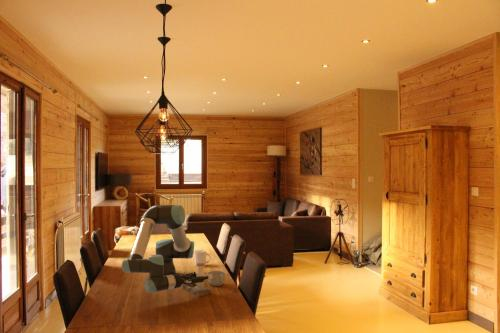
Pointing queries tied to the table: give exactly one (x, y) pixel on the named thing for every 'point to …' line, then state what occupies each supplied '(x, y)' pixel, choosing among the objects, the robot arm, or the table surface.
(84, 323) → the table surface
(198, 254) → the mug
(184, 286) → the track
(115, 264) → the table surface
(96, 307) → the table surface
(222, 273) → the teacup
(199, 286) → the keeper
